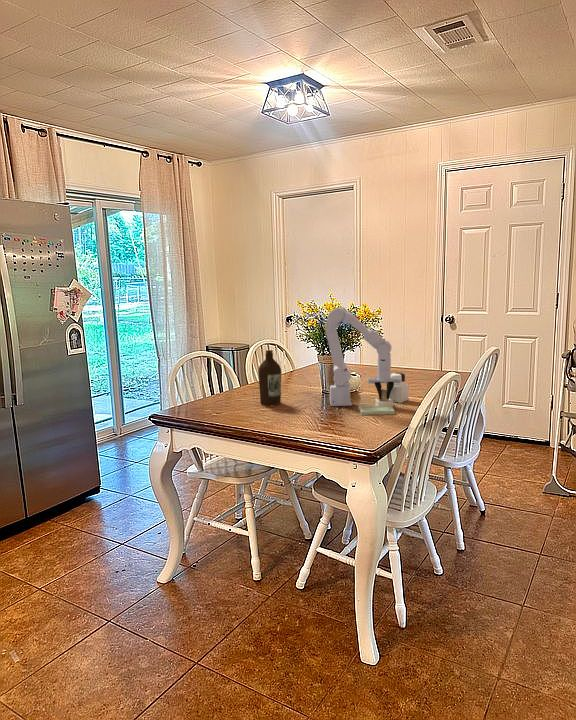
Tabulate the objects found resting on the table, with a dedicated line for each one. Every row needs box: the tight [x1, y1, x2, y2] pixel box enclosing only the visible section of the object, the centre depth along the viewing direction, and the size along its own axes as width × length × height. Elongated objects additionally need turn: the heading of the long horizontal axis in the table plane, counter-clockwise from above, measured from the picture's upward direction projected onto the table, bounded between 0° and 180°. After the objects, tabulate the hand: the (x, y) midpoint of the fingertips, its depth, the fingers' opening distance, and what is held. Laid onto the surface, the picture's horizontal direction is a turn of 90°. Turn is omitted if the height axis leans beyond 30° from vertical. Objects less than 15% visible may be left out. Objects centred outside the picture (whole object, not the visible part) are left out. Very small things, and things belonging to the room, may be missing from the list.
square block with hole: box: [374, 398, 394, 409], centre depth 240 cm, size 7×7×3 cm
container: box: [389, 372, 410, 404], centre depth 250 cm, size 8×8×13 cm
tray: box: [357, 405, 396, 416], centre depth 232 cm, size 14×10×1 cm
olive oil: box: [257, 349, 282, 406], centre depth 248 cm, size 11×11×25 cm
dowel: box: [381, 388, 387, 402], centre depth 240 cm, size 3×3×8 cm
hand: (383, 398), depth 240 cm, fingers closed on dowel, 3 cm apart
